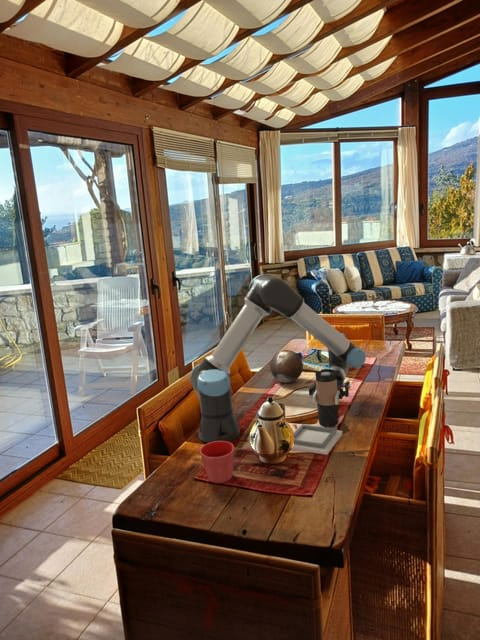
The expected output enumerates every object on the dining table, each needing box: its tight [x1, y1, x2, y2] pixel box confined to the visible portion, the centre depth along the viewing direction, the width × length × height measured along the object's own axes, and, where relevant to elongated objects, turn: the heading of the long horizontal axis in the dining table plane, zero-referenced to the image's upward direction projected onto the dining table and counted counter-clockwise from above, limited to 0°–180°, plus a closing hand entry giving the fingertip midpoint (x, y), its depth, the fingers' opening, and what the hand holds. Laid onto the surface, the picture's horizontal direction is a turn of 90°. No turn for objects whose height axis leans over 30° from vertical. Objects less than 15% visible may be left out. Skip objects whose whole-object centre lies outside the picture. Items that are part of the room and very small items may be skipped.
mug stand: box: [292, 424, 343, 456], centre depth 179 cm, size 16×16×2 cm
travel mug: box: [315, 368, 339, 428], centre depth 190 cm, size 8×8×20 cm
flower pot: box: [199, 441, 235, 484], centre depth 161 cm, size 11×11×10 cm
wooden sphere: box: [269, 349, 304, 384], centre depth 238 cm, size 15×15×15 cm
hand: (324, 400), depth 185 cm, fingers closed on travel mug, 7 cm apart
